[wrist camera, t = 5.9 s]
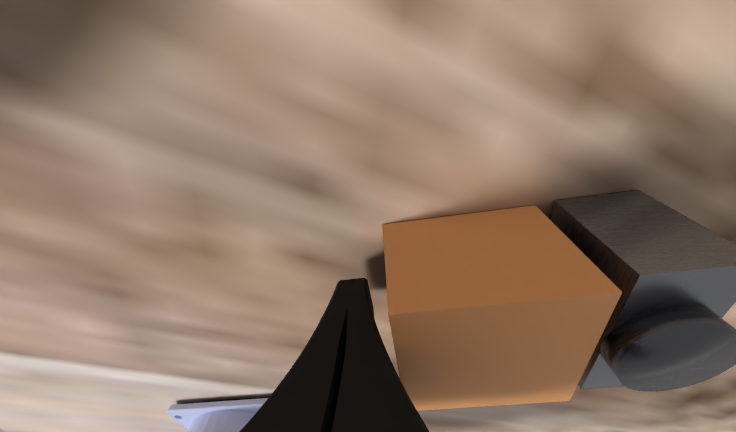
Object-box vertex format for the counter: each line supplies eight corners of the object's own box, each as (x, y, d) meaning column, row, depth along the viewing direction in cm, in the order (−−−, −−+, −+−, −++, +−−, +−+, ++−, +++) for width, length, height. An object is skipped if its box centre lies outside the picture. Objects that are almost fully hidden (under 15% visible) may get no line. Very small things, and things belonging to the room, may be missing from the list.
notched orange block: (516, 304, 14) (569, 401, 10) (396, 315, 14) (406, 411, 11) (535, 204, 11) (622, 292, 7) (382, 224, 11) (388, 314, 8)
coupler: (595, 298, 14) (691, 408, 9) (399, 315, 14) (411, 424, 10) (641, 189, 10) (815, 286, 6) (386, 220, 11) (395, 323, 7)
